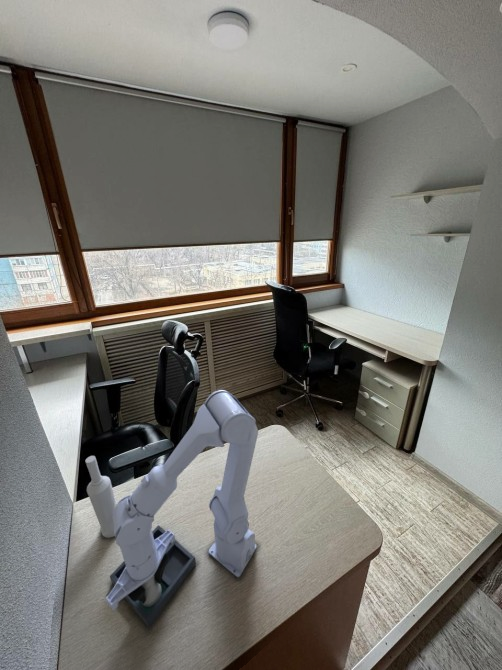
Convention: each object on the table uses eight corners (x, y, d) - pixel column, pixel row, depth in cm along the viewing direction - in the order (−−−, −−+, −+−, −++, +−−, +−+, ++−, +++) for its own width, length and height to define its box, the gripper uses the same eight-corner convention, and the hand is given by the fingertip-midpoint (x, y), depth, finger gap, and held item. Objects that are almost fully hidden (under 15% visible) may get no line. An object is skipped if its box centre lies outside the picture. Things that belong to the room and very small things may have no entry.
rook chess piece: (165, 583, 60) (160, 562, 57) (156, 609, 56) (151, 588, 53) (146, 581, 61) (140, 559, 58) (136, 606, 57) (129, 585, 54)
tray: (196, 563, 65) (195, 557, 64) (148, 628, 54) (146, 621, 53) (159, 531, 71) (158, 524, 70) (111, 582, 61) (109, 576, 60)
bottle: (114, 540, 69) (91, 470, 60) (97, 536, 70) (72, 466, 61) (126, 520, 74) (107, 452, 65) (110, 517, 75) (89, 449, 66)
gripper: (156, 508, 60) (164, 546, 65) (91, 573, 49) (107, 612, 54) (178, 526, 56) (185, 565, 62) (112, 600, 45) (127, 640, 50)
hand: (149, 588), depth 58 cm, fingers closed on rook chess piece, 3 cm apart
